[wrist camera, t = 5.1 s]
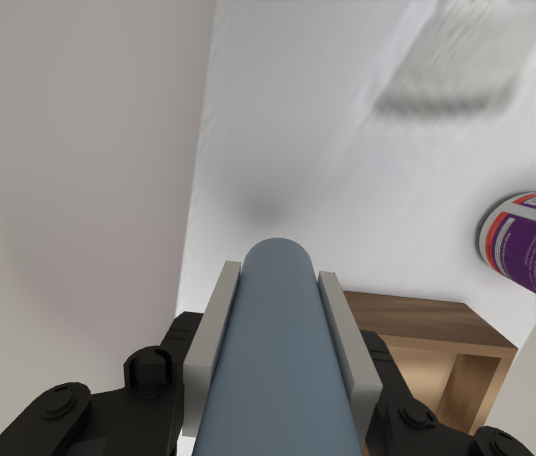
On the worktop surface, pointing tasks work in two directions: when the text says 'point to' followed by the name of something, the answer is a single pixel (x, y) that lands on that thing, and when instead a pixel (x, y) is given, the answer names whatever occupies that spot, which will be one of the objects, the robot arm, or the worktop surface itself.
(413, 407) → the robot arm
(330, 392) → the peg
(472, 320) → the box
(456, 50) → the worktop surface
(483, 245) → the pill bottle
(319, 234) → the worktop surface
